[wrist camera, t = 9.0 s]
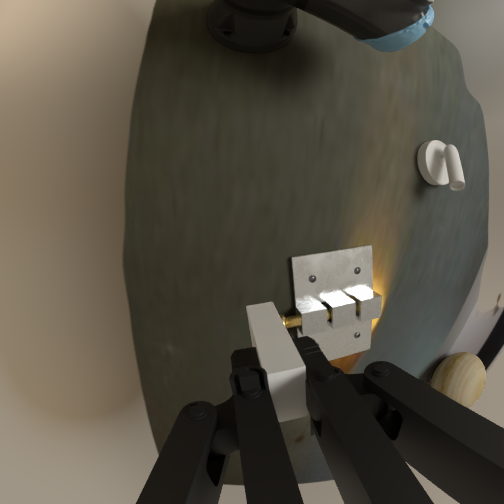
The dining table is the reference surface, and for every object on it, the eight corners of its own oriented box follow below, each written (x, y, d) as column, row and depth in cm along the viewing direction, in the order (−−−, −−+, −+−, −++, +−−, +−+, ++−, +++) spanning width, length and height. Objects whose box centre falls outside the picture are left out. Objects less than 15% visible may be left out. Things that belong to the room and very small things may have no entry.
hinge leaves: (290, 256, 42) (297, 261, 38) (369, 244, 43) (381, 247, 40) (298, 365, 45) (304, 376, 42) (368, 346, 47) (377, 355, 43)
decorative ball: (409, 386, 51) (445, 421, 36) (446, 334, 50) (488, 360, 36) (434, 398, 54) (465, 426, 39) (466, 352, 53) (501, 375, 38)
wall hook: (448, 178, 34) (454, 125, 32) (412, 180, 43) (420, 134, 42) (475, 199, 35) (480, 149, 34) (440, 198, 44) (447, 154, 43)
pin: (276, 312, 43) (280, 319, 40) (365, 294, 44) (373, 299, 42) (278, 328, 43) (282, 335, 40) (365, 309, 45) (373, 314, 42)
